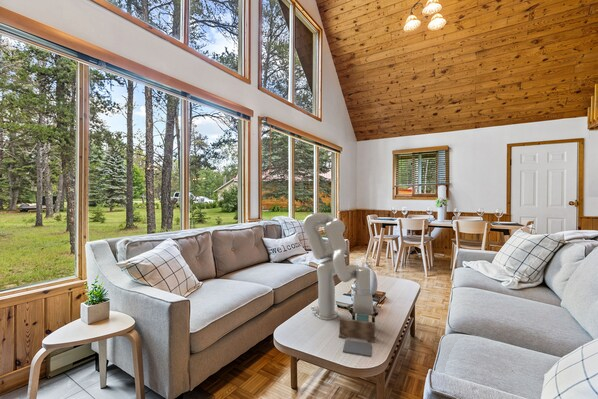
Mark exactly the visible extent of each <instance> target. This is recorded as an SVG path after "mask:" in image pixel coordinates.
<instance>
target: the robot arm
mask: <svg viewBox="0 0 598 399" xmlns="http://www.w3.org/2000/svg"><path fill="white" fill-rule="evenodd" d="M302 225H303V232H304V234H305V236H306V238H307V240H308V244H309V246H310V250H311V252H312V255H313V257H314V258H315V259H316V260H324V261H322V262H320V263H319V264H318V265H317V268H316V275H317V282H318V285H317V287H318V288H317V291H318V296H317V297H318V302H317V304H318V305H316V306H315V305H311V308H310V309H311V311H313V312H315V317H316V318H318V319H320V320H324V321H331V320H334V319H335V320H336V318H337V317H338V312H337V311H336V310H335V309H336V303H335V302H336V289H335V288H336V284H335V281H334V280H335V279H334V276H335V275H337V278H338V279H339V280H340V281H341V282H343V283H348V282H350V281H352V280H354V279H355V287H354V288H352V291H353V292H354V295H353V303H350V304H348V305H346V309H347V311H348V312H349V313H350V314H351V320H356V314H357V313H358V314H367V315H369V316H371V322H374V323H375V324H376V322H375V321H376V317H377V316H379V314H380V312H381V308H380V307H378V306H376V305H374V300H373V295H372V293H371V270H370V268H369V267H365V266H359V265H357V264H348V265H347V264H346V261H345V252H346V250H347V247H348V246H347V243H346V240H345V238H344V235H343V234H344V232H345V230H346V226H345V223H344V222H343V221H342V220H341V219H339V218H336V217H334V216H333V215H331V214H329V213H326V212H317V213H316V212H315V213H310V214H309V215H307V216H306V217H305V218H304V219H303V223H302ZM321 227H324V228H323V230H324V233H325V235H326V238H327V240H328V241H325V240H324V238H323V235H322V234H321V232H320V231H319V230H318V228H321ZM351 308H352V309H351ZM374 310H375V312H374Z"/></svg>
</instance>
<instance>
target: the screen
mask: <svg viewBox="0 0 598 399" xmlns="http://www.w3.org/2000/svg"><path fill="white" fill-rule="evenodd" d="M346 337H347V338H349V337H350V338H355V339H362V340H367V343H371V344H372V343H373V344H375V343H376V342H375V340H376V322H375V323H374V322H372V321H369V322H366V321H358V320H356V319H355V320H352V318H351V319H349V318H341V317H340V318H339V334H338V338H339V339H346Z"/></svg>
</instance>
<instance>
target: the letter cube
mask: <svg viewBox="0 0 598 399" xmlns="http://www.w3.org/2000/svg"><path fill="white" fill-rule="evenodd" d="M369 316H370V315H367V314H358V313H356V316H355V320H358V321H366V322H370V321H369V320H370V319H369V318H370V317H369Z"/></svg>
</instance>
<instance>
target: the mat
mask: <svg viewBox="0 0 598 399" xmlns="http://www.w3.org/2000/svg"><path fill="white" fill-rule="evenodd" d="M342 353H345V354H346V353H347V354H353V355H357V356H364V357H371V355H372V354H371V353H372V342H366V341H365V342H364V341H359V340H351V339H345V340H344V344H343V349H342Z"/></svg>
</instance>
